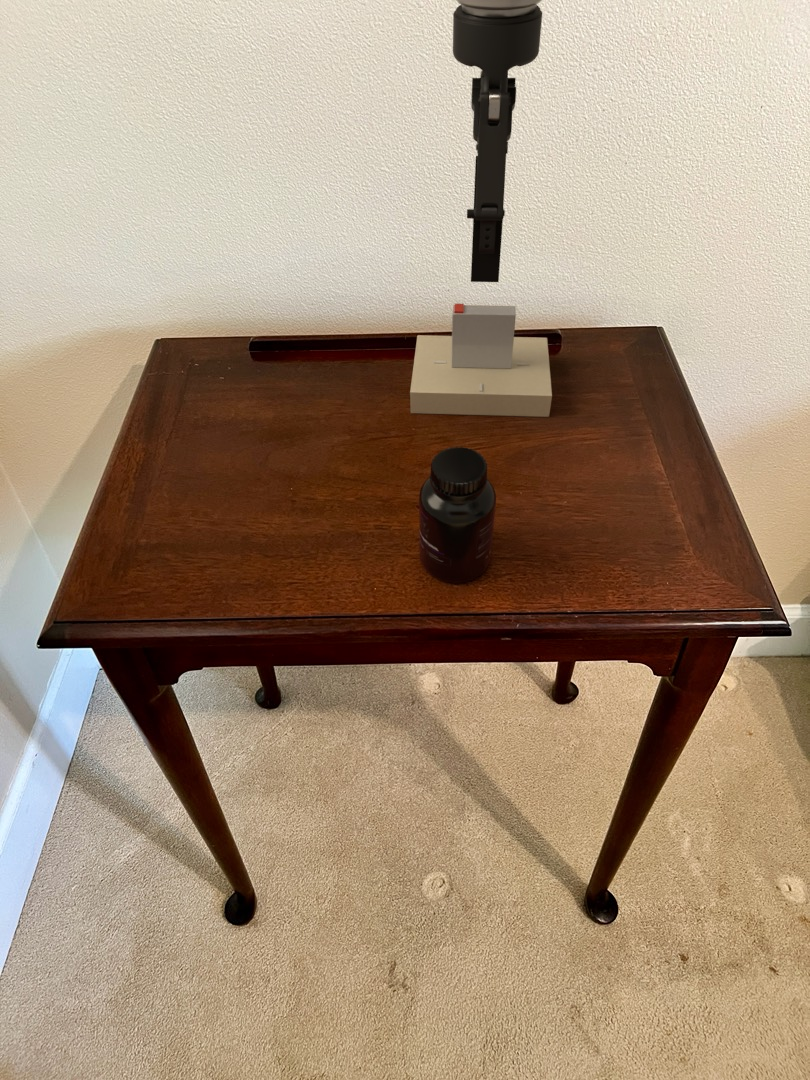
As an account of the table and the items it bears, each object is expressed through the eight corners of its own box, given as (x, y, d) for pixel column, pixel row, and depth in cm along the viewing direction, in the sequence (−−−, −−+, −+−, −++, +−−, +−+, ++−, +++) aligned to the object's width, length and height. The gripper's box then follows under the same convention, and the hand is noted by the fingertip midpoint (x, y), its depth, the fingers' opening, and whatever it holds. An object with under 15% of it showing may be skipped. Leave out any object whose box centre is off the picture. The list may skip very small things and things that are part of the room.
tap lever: (510, 359, 90) (515, 303, 85) (511, 368, 89) (516, 312, 84) (452, 358, 91) (453, 302, 86) (451, 367, 90) (452, 311, 84)
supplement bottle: (408, 574, 72) (405, 479, 63) (434, 525, 76) (434, 430, 67) (478, 594, 70) (484, 499, 61) (500, 543, 74) (509, 448, 65)
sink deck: (544, 358, 96) (547, 336, 93) (549, 417, 87) (552, 394, 85) (417, 355, 97) (417, 333, 95) (410, 413, 89) (410, 390, 86)
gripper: (458, -28, 73) (453, 197, 88) (447, 48, 56) (444, 309, 71) (537, -29, 72) (518, 197, 88) (550, 47, 55) (524, 311, 71)
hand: (485, 248), depth 80 cm, fingers open, 13 cm apart
